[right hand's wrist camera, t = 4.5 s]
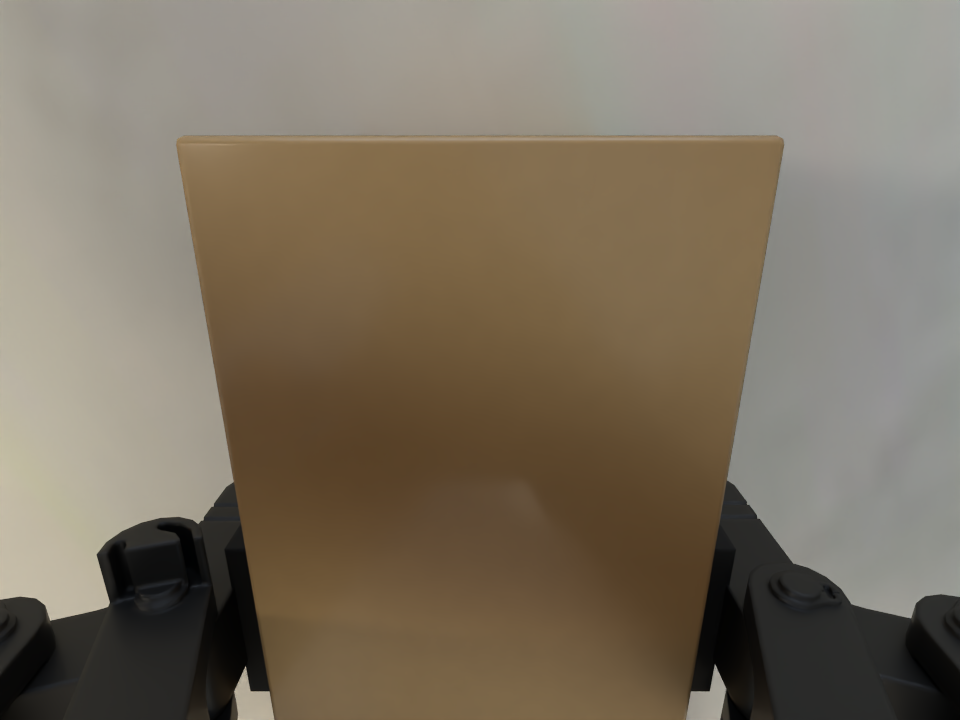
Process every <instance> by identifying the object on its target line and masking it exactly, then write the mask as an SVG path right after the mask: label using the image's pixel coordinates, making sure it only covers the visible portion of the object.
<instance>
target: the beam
mask: <svg viewBox="0 0 960 720" xmlns="http://www.w3.org/2000/svg"><path fill="white" fill-rule="evenodd" d="M176 146H177V152H178V158H179V164H180V170H181V175H182V181H183V187H184V193H185V199H186V205H187V210H188V216H189V222H190V228H191V234H192V240H193V246H194V251H195V257H196V263H197V269H198V275H199V281H200V287H201V292H202V298H203V304H204V310H205V316H206V322H207V327H208V333H209V339H210V345H211V351H212V357H213V363H214V368H215V374H216V380H217V386H218V392H219V398H220V403H221V409H222V415H223V421H224V427H225V433H226V439H227V444H228V450H229V456H230V462H231V468H232V474H233V480H234V485H235V491H236V497H237V503H238V509H239V515H240V520H241V526H242V532H243V538H244V544H245V550H246V556H247V561H248V567H249V573H250V579H251V585H252V591H253V596H254V602H255V608H256V614H257V620H258V626H259V632H260V637H261V643H262V649H263V655H264V661H265V667H266V673H267V678H268V684H269V690H270V696H271V702H272V708H273V713H274V719H275V720H686V716H687V710H688V704H689V698H690V692H691V686H692V680H693V675H694V669H695V663H696V657H697V651H698V645H699V640H700V634H701V628H702V622H703V616H704V610H705V604H706V599H707V593H708V587H709V581H710V575H711V569H712V564H713V558H714V552H715V546H716V540H717V534H718V528H719V523H720V517H721V511H722V505H723V499H724V493H725V487H726V482H727V476H728V470H729V464H730V458H731V452H732V447H733V441H734V435H735V429H736V423H737V417H738V411H739V406H740V400H741V394H742V388H743V382H744V376H745V371H746V365H747V359H748V353H749V347H750V341H751V335H752V330H753V324H754V318H755V312H756V306H757V300H758V294H759V289H760V283H761V277H762V271H763V265H764V259H765V254H766V248H767V242H768V236H769V230H770V224H771V218H772V213H773V207H774V201H775V195H776V189H777V183H778V178H779V172H780V166H781V160H782V154H783V148H784V141H783V139H782V138H780V137H778V136H182V137H180V138H178V139H177V144H176Z"/></svg>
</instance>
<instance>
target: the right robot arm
mask: <svg viewBox="0 0 960 720" xmlns="http://www.w3.org/2000/svg"><path fill="white" fill-rule="evenodd" d="M97 558H98V561H99V565H100V568H101V572H102V575H103V579H104V583H105V586H106V590H107V593H108V597H109V600H110V604H109V607H107V608H104V609H100V610H97V611H93V612H88V613H84V614H79V615H75V616H70V617H66V618H61V619H57V620H52V621H50V619H49V616H48V613H47V610H46V607H45V605H44V604H42V603H41V602H40V601H38V600H37V599H35V598H26V597H15V598H9V599H3V600H0V720H237V718H238V711H237V705H236V699H235V694H234V690H235V688H236V686H237V684H238V681H239V679H240V677H241V675H242V673H243V670H244V668H245V666H246V669H247V674H248V679H249V685H250V690H251V691H270V690H269V684H268V678H267V673H266V667H265V661H264V655H263V649H262V643H261V637H260V632H259V626H258V620H257V614H256V608H255V602H254V596H253V591H252V585H251V579H250V573H249V567H248V561H247V556H246V550H245V544H244V538H243V532H242V526H241V520H240V515H239V509H238V503H237V497H236V491H235V485H234V482H233V483H232V484H230V485H229V486H227V487H226V488H225V490H224V491H223V492H222V494H221V495H220V496H219V498H218V499H217V500H216V502H215V503H214V507H211V508H210V510H209V511H208V513H207V514H206V515H205V517H204V521H201V522H200V523H199V525H198V524H197V523H196V522H194V521H193V520H190V519H185V518H181V517H171V518H159V519H155V520H151V521H147V522H143V523H140V524H138V525H135V526H133V527H131V528H129V529H126V530H124V531H122V532H120V533H119V534H118V535H116V536H115V537H113V538H112V539H111V540H109V541H108V542H106V543H105V545H104V546H103V547H102V549H101V550H100V551H99V552H98V554H97ZM714 665H716V667H717V669H718V671H719V673H720V675H721V678H722V680H723V682H724V684H725V686H726V694H725V699H724V704H723V709H722V714H721V719H720V720H960V597H955V596H948V595H942V594H940V595H932V596H925V597H924V598H922V599H921V600H920V601H918V602H917V603H916V605H915V608H914V612H913V615H912V618H911V619H910V618H905V617H901V616H897V615H892V614H888V613H883V612H879V611H874V610H870V609H865V608H862V607H858V606H855V605H851V603H850V601H849V600H848V598H847V597H846V596H845V594H844V593H843V591H842V590H841V589H840V588H839V587H838V586H837V585H835V584H834V583H833V582H832V581H830V580H829V579H828V578H827V577H825V576H823V575H821V574H819V573H817V572H815V571H813V570H811V569H809V568H806V567H803V566H799V565H796V564H793V563H792V561H791V560H790V559H789V557H788V556H787V555H786V553H785V552H784V551H783V549H782V548H781V547H780V545H779V544H778V543H777V542H776V540H775V539H774V538H773V536H772V535H771V534H770V532H769V531H768V530H767V528H766V527H765V526H764V524H763V523H762V522H761V520H760V519H757V515H756V514H755V512H754V511H753V510H752V508H751V507H750V506H749V505H747V502H746V500H745V499H744V498H743V496H742V495H741V494H740V492H739V491H738V490H737V488H736V487H735V486H734V485H733V484H732V483H730V482H729V481H727V482H726V487H725V493H724V499H723V505H722V511H721V517H720V523H719V528H718V534H717V540H716V546H715V552H714V558H713V564H712V569H711V575H710V581H709V587H708V593H707V599H706V604H705V610H704V616H703V622H702V628H701V634H700V640H699V645H698V651H697V657H696V663H695V669H694V675H693V680H692V686H691V691H710V687H711V681H712V676H713V671H714Z"/></svg>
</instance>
